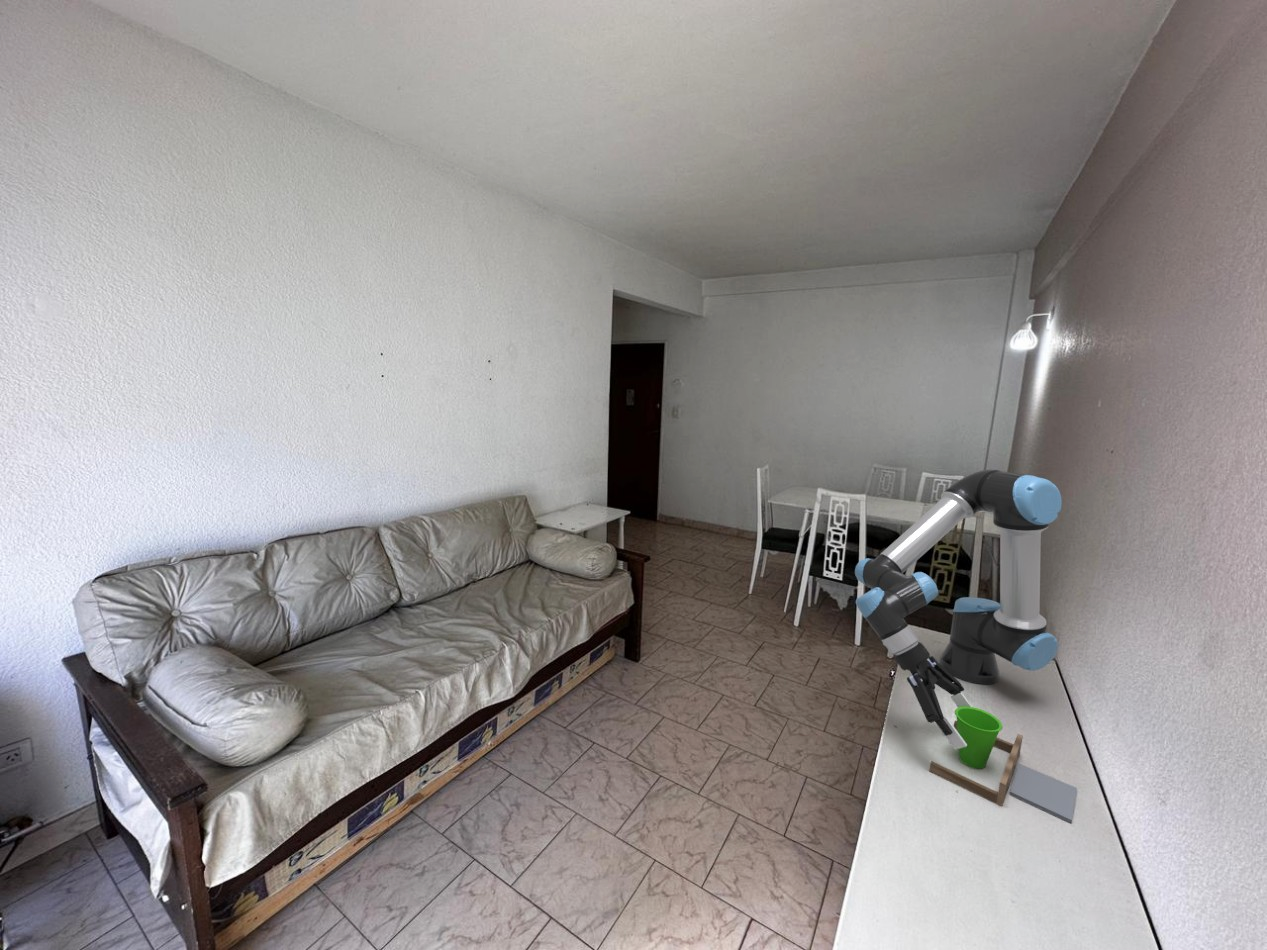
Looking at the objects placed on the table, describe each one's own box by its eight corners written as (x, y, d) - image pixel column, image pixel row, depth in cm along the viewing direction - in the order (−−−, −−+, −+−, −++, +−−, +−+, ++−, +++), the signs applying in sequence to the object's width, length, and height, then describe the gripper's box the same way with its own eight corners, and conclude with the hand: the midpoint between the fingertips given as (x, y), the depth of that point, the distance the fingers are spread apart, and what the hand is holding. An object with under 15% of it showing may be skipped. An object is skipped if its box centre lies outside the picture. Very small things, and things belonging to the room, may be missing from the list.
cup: (940, 753, 119) (945, 710, 117) (966, 744, 122) (972, 702, 120) (978, 780, 110) (985, 735, 109) (1004, 769, 114) (1012, 725, 112)
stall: (954, 727, 128) (956, 709, 127) (1019, 754, 119) (1022, 735, 118) (929, 771, 113) (931, 751, 112) (1002, 806, 103) (1005, 785, 103)
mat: (1018, 766, 115) (1019, 763, 115) (1076, 791, 108) (1077, 788, 108) (1009, 794, 106) (1010, 791, 106) (1071, 823, 100) (1072, 820, 99)
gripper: (909, 638, 135) (966, 715, 126) (874, 672, 117) (938, 764, 109) (934, 626, 130) (995, 706, 122) (901, 660, 113) (970, 755, 104)
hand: (968, 733), depth 115 cm, fingers open, 13 cm apart
